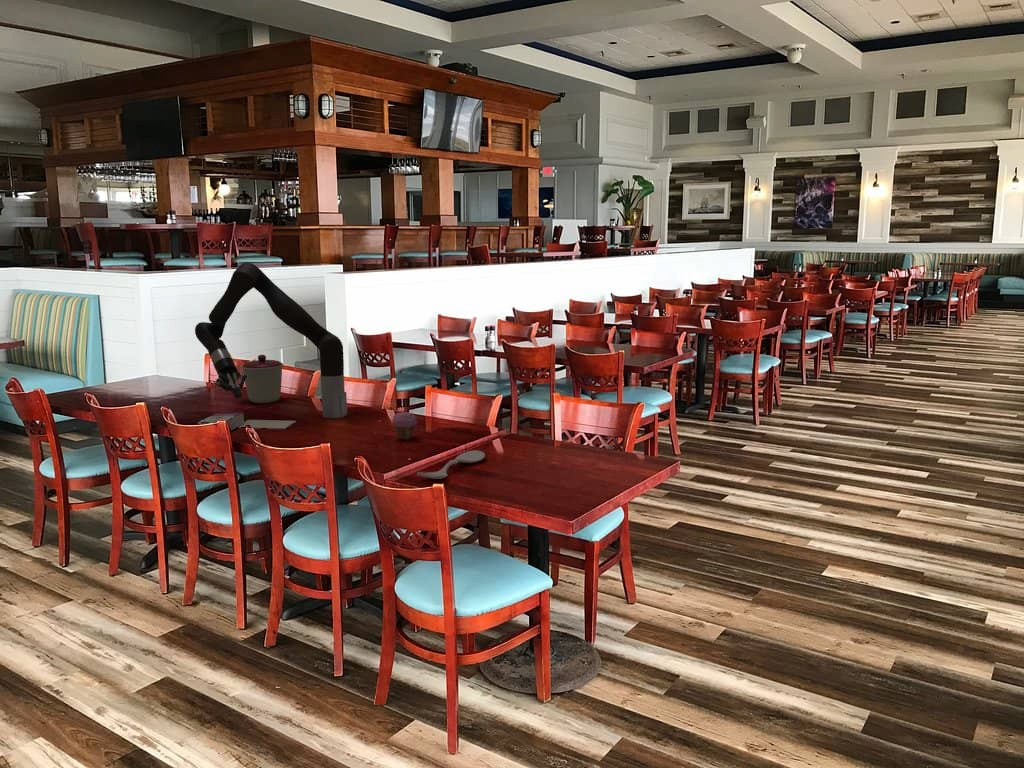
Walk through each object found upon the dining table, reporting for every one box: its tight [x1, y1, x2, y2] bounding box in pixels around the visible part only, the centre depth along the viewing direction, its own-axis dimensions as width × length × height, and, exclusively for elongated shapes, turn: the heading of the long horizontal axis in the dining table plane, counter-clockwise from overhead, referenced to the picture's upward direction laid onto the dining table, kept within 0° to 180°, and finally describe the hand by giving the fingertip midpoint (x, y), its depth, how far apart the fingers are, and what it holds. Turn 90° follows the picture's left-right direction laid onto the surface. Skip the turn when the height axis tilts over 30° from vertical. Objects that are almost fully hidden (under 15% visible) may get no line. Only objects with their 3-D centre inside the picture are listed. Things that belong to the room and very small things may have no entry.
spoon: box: [416, 449, 486, 480], centre depth 261 cm, size 9×32×4 cm, turn 154°
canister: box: [240, 354, 284, 404], centre depth 365 cm, size 18×18×21 cm
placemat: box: [237, 419, 297, 430], centre depth 323 cm, size 20×12×1 cm, turn 83°
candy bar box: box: [197, 411, 245, 432], centre depth 316 cm, size 11×5×16 cm
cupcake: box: [392, 411, 418, 441], centre depth 299 cm, size 9×9×10 cm
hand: (239, 397), depth 320 cm, fingers closed
